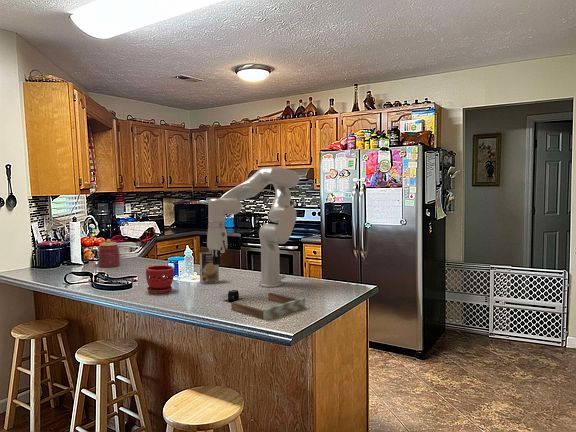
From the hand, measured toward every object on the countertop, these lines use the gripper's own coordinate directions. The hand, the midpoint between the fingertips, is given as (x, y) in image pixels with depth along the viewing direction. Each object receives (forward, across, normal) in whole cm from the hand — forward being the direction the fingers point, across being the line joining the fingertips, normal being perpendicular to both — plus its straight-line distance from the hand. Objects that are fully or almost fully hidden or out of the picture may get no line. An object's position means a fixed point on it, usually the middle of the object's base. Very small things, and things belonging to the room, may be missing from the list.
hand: (216, 264), depth 202 cm
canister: (+15, +112, -1) cm, 113 cm away
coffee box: (+15, +25, -15) cm, 32 cm away
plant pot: (+15, +27, +13) cm, 34 cm away
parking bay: (+15, -33, -1) cm, 36 cm away
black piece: (+15, -12, -1) cm, 19 cm away
